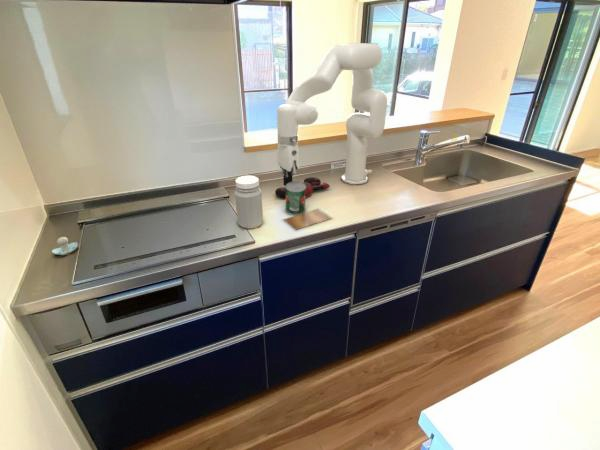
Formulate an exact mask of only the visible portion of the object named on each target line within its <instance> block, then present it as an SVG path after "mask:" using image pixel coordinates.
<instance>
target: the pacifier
mask: <svg viewBox="0 0 600 450" xmlns="http://www.w3.org/2000/svg"><path fill="white" fill-rule="evenodd" d="M68 242H69V239H68V238H67V237H66V236H61V237H59V238H58V239H57V240H56V243H57V245H58V246H60V247H57V248H54V249H52V250H51V252H52V253H53V254H54V255H56V256H57V255H58V256H67V255H69V254H72V253H73V252H74V251H75V250H76V249H77V248H78V245H79V244H78V242H77V241H74V242H70V243H68Z"/></svg>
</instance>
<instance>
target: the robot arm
mask: <svg viewBox="0 0 600 450" xmlns="http://www.w3.org/2000/svg"><path fill="white" fill-rule="evenodd" d="M382 57H383V51H382V48H381V46H379V44H378V43H370V42H369V43H368V42H367V43H365V42H350V43H346V44H335V45H332V46H331V47H330V48H329V50H328V51H327V53H326V54H325V56H324V57H323V59H322V61H321V62H320V63H319V65H318V67H317V68H316V70H315V71H314V72H313V75H311V76H310V77H308V78H307V79H305V80H304V81H303V82H302V83H300V84H299V85H297V87H295V88H294V89H293V91H291V93H290V95H289V96H288V98H287V100H286V101H285V103H284V104H281V105H279V106H278V107H277V112H276V113H277V114H276V115H277V118H276V119H277V154H276V155H277V156H276V157H277V158H276V159H277V165H278V167H279V168H280V169H281V171H282V176H283V177H282V178H283V181H282V183H283V186H284V187H286V184H287V183H289V182H292V181H293V177H294V175H297V171H299V170H300V168H301V158H300V149H299V143H298V142H299V135H298V134H299V126H302V125H303V126H308V125H312V124H314V123H315V122H316V121H317V120H318V118H319V110H318V108H317V107H316V106H315V105H313V104H311V103H309V102H306V101H308V100H309V99H310V98H312V97H314V96H317V95H321V94H323V93H326V92H329V91H330V90H332V89H333V87H334V86H335V83H336V82H337V81H338V79H339V77H340V75H341V74H342V72H343V71H350V73H351V76H352V85H351V99H350V101H351V103H350V105H351V107H352V108H353V109H354V110H357V111H360V112H355V113H351V114H350V115H349V116H348V117H347V119H346V123H345V128H346V129H345V130H346V137H347V138H346V153H345V154H346V155H345V156H346V157H345V170H344V174H342V176H341V181H342V182H343V183H345V184H349V185H362V184H363V185H364V184H366V183H367V182H368V180H369V178H368V176H367V175H370V174H373V170H372V169H367V168H366V167H367V165H366V164H367V156H368V147H369V146H368V145H369V144H368V139H371V140H376V139H379V138H381V136H382V135H383V133H384V129H385V125H386V117H387V115H386V114H387V108H388V97H387V94H386V93H385V91H383V90H381V89H377V88H373V82H374V74H373V70H372V69H375V68H376V67H378V65H379V64H380V63H381V62H382ZM361 112H366V113H369V114H366V113H361Z"/></svg>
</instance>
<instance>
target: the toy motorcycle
mask: <svg viewBox="0 0 600 450" xmlns="http://www.w3.org/2000/svg"><path fill="white" fill-rule="evenodd" d="M302 183H304V184H305V185H306V193H305V200H307V197H310V196H311V195H312V194H313V192H314V191H323V190H325V189H328V188H330V184H329V183H327V182H321V179H320V178H319V177H316V176H307V177H306V178H304V180H303V182H302ZM274 194H275V196H277V198H281V199H286V186H281V187H278V188H276V189H275V191H274Z"/></svg>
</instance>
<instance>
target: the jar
mask: <svg viewBox="0 0 600 450" xmlns="http://www.w3.org/2000/svg"><path fill="white" fill-rule="evenodd" d="M259 180H260V179H259V177H258V176H255V175H250V174H249V175H242V176H241V175H240V176H238V177H237V178H236V179H235V190H234V198H235V199H234V200H235V208H236V219H237V225H239V226H240V227H241V228H242V229H247V230H253V229H256V228H259V227H260V226H261V225H262V224H263V223H264V211H263V196H262V195H263V194H262V189H261V188H260V181H259Z"/></svg>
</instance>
